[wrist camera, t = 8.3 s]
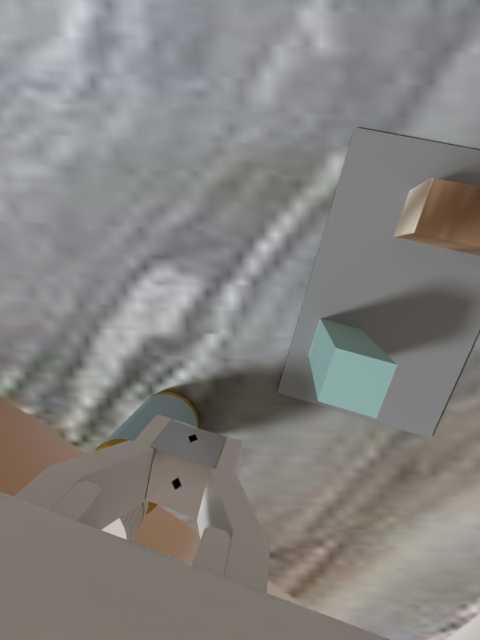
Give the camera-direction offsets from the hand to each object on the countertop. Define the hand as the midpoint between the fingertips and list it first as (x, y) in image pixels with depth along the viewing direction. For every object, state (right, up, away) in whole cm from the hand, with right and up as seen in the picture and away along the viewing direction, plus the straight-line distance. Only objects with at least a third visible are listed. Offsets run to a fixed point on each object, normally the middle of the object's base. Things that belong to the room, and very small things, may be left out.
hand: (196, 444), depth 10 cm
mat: (+16, +7, +18) cm, 25 cm away
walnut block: (+16, +13, +14) cm, 25 cm away
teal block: (+11, +2, +19) cm, 22 cm away
